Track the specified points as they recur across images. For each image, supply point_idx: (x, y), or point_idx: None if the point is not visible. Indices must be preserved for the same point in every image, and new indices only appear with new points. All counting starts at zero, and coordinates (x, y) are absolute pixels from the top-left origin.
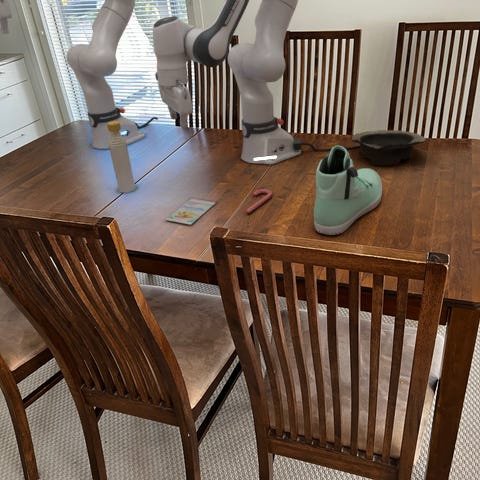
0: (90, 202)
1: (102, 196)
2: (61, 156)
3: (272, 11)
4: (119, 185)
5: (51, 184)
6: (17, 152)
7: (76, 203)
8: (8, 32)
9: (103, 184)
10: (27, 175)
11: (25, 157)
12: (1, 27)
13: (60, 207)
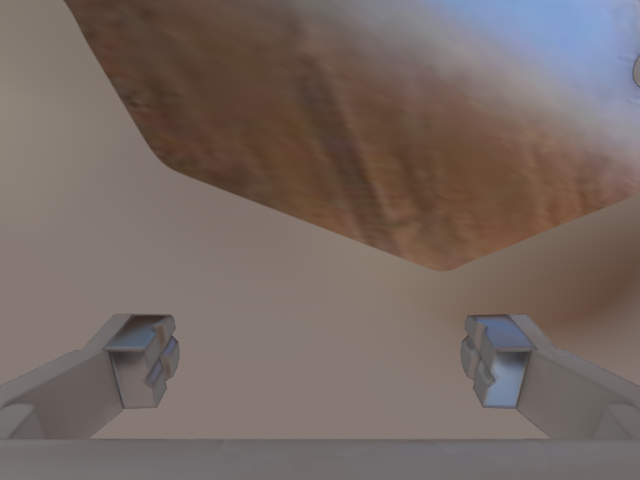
0: (614, 163)
1: (619, 129)
2: (292, 54)
3: None
4: None
5: (448, 171)
6: (148, 125)
7: (587, 184)
8: (524, 319)
9: (572, 89)
10: (344, 183)
11: (211, 129)
12: (537, 418)
13: (569, 214)
